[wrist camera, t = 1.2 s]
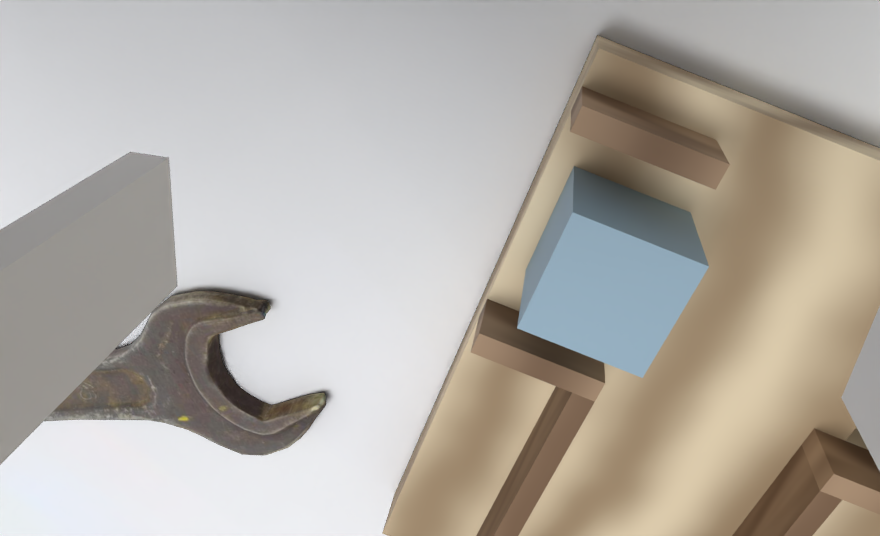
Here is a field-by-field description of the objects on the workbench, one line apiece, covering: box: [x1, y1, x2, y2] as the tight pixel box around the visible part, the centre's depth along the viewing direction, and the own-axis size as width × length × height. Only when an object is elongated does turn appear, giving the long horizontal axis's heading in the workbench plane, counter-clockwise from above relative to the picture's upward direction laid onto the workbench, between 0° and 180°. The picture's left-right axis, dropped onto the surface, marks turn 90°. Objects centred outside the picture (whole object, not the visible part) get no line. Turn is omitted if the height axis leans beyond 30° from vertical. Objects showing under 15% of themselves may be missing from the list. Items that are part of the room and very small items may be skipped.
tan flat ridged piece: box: [383, 35, 880, 536], centre depth 35 cm, size 24×27×6 cm
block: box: [517, 166, 709, 378], centre depth 30 cm, size 5×5×5 cm
